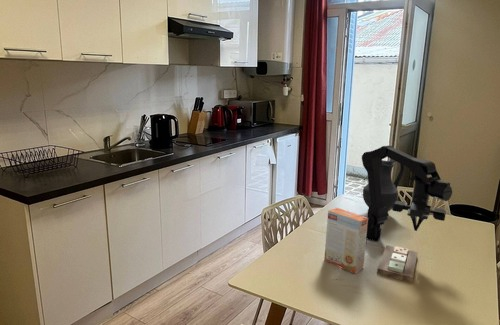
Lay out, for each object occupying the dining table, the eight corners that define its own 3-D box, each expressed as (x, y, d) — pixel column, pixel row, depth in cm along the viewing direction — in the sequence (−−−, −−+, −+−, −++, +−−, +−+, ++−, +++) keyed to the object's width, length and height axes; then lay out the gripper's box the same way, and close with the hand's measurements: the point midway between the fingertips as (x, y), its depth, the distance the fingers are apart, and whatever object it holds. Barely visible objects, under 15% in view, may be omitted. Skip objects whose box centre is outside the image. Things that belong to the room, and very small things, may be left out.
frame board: (376, 273, 134) (377, 268, 133) (385, 249, 153) (386, 245, 152) (412, 282, 128) (412, 277, 128) (416, 256, 147) (417, 252, 147)
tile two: (390, 264, 139) (391, 257, 139) (392, 258, 144) (392, 252, 143) (404, 267, 137) (405, 261, 136) (405, 261, 141) (406, 255, 141)
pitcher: (355, 209, 198) (360, 156, 191) (388, 207, 203) (394, 155, 196) (372, 221, 182) (379, 163, 175) (408, 219, 187) (416, 162, 180)
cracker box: (363, 269, 137) (369, 217, 132) (354, 274, 133) (360, 221, 128) (332, 255, 147) (336, 206, 142) (323, 259, 143) (327, 209, 138)
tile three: (392, 256, 145) (393, 250, 145) (394, 251, 150) (395, 245, 149) (406, 259, 143) (407, 253, 143) (407, 254, 147) (408, 248, 147)
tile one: (387, 272, 133) (388, 265, 133) (389, 266, 138) (390, 260, 137) (402, 276, 131) (403, 269, 131) (403, 270, 135) (404, 263, 135)
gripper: (392, 194, 138) (387, 231, 142) (447, 204, 129) (440, 244, 133) (397, 186, 148) (392, 222, 151) (448, 195, 139) (442, 233, 142)
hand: (415, 230), depth 144 cm, fingers closed
